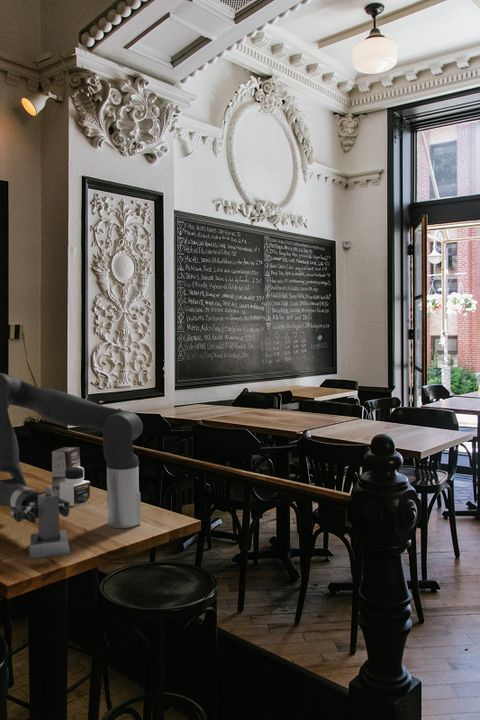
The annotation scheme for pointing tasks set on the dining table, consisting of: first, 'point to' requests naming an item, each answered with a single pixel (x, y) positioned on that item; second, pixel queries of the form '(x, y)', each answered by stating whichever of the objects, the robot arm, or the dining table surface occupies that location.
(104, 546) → the dining table surface
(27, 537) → the dining table surface
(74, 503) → the medicine bottle
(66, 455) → the coffee box
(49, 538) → the plug
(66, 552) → the socket
